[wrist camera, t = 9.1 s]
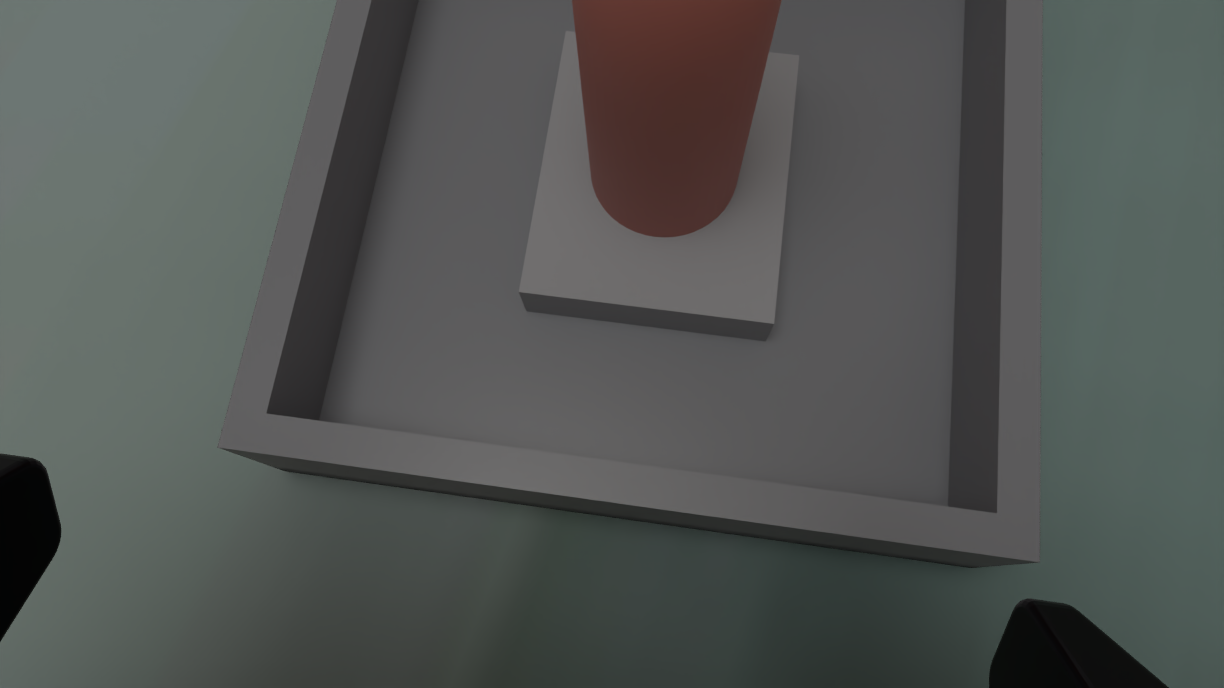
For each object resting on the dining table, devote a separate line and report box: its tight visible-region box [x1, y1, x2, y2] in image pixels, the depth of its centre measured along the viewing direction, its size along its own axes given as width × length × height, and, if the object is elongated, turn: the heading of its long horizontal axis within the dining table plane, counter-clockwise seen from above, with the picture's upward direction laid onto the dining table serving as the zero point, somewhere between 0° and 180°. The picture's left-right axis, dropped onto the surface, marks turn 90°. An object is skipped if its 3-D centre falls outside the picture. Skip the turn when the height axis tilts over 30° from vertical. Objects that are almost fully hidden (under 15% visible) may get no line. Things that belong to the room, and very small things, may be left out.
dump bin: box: [218, 0, 1043, 568], centre depth 18 cm, size 14×14×3 cm
